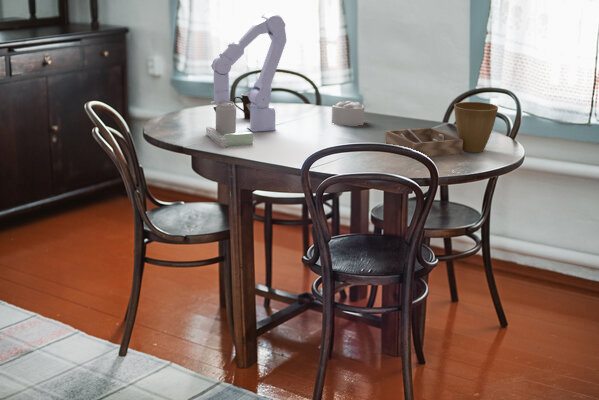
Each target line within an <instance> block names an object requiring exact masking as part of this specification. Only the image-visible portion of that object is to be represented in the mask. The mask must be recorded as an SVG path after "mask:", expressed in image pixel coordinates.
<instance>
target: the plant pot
mask: <svg viewBox="0 0 599 400" xmlns="http://www.w3.org/2000/svg"><path fill="white" fill-rule="evenodd" d="M453 108H454V118H455V125H456V132H457V136H458V137H457V138H459V139H462V140H463V146H462V151H463V150H464V152H465V151H467V152H466V153H471V152H479V153H482V152H484V150H485V148H486V145H487V143H488V142H489V139H490V136H491V135H492V131H493V128H494V126H495V122H496V118H497V114H498V109H499V106H498V105H496V104H493V103H490V102H480V101H464V102H463V101H462V102H457V103H454V104H453Z"/></svg>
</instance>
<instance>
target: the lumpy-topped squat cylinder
mask: <svg viewBox="0 0 599 400" xmlns="http://www.w3.org/2000/svg"><path fill="white" fill-rule="evenodd" d="M364 118H365V105H364V104H362V103H361V102H358V101H352V100H347V101H339V102H338V103H335V104H333V105H332V106H331V124H332V123H334V124H333V125H335V124H337V125H336V126H341V125H348V126H347V127H359V126H358V125H363V124H364V122H365V119H364ZM363 126H364V125H363Z"/></svg>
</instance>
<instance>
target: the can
mask: <svg viewBox="0 0 599 400" xmlns="http://www.w3.org/2000/svg"><path fill="white" fill-rule="evenodd" d="M234 102H235V101H234ZM234 102H233V101H232V100H231V101H230V100H229V101H220V102H218V105H215V107H216V112H215V130H216V131H218V132H219V133H220V134H221V135H223V136H224V134H230V133H237V132H236V131H237V129H236V128H237V107H236V106H235V105H234ZM227 104H229V106H225V105H227Z"/></svg>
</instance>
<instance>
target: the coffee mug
mask: <svg viewBox="0 0 599 400" xmlns="http://www.w3.org/2000/svg"><path fill="white" fill-rule="evenodd" d="M248 94H249V92H243V93H241V97H240V96H236V97H233V99H232V100H233V101H232V102H234V105H235V106H236V109H237V108H238V110H240V111H242V113H243V117H244V119H245V120H249V121H250V105H251V102H250V100H249V98H248ZM236 99H239V100H240V101H241V102H242V107H243V108H241V107H240V106H238V105H237V104H236V103H235V100H236Z"/></svg>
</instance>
